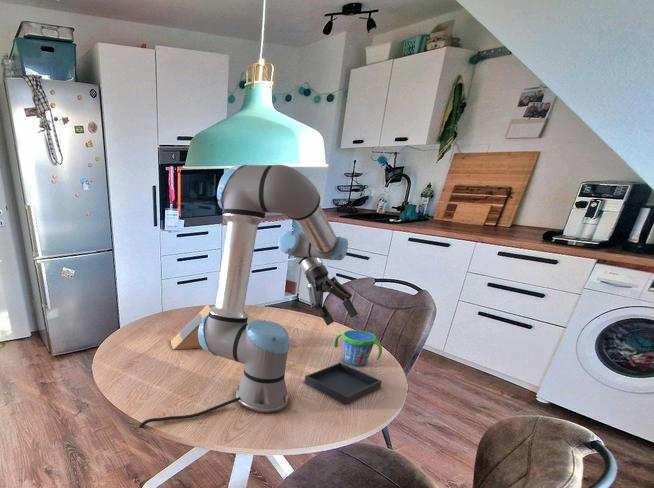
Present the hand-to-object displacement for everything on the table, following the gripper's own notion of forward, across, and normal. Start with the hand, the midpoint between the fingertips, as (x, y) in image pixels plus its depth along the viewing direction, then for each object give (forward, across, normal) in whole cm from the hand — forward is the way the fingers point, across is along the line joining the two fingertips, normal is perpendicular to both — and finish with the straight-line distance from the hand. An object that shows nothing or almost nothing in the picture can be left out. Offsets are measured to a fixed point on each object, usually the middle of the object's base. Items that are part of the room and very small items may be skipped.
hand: (342, 319), depth 138 cm
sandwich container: (-17, +40, -36) cm, 57 cm away
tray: (+20, +18, +1) cm, 27 cm away
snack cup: (+15, 0, -4) cm, 16 cm away
